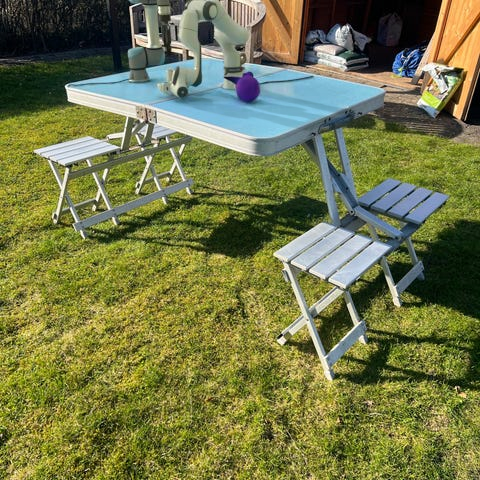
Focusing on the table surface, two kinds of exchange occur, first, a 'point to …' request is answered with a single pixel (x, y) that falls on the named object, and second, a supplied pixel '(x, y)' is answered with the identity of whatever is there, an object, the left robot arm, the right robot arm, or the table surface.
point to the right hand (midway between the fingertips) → (170, 83)
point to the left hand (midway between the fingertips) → (168, 54)
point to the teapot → (243, 59)
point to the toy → (246, 86)
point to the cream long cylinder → (169, 75)
